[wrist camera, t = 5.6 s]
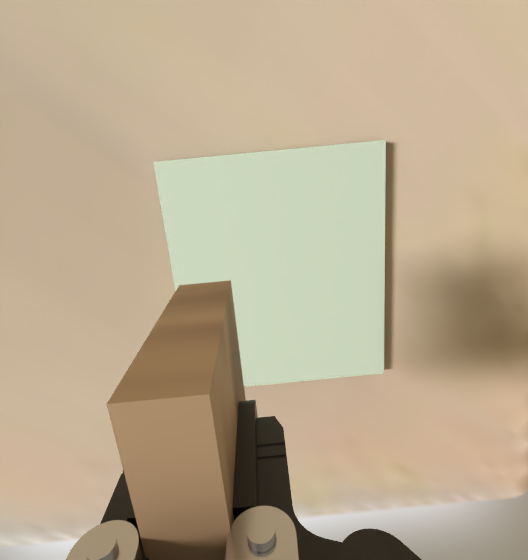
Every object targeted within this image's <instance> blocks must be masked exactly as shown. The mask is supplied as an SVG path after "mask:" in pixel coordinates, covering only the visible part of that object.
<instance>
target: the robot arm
mask: <svg viewBox="0 0 528 560" xmlns="http://www.w3.org/2000/svg"><path fill="white" fill-rule="evenodd" d="M232 509H233V516H234V522H233V523H232V525H231V527H230V529H229V532H228V537H227V546H226V558H225V560H421V559H420V558H419V557H418V556H417V555H415V554H414V553H413V552H412V551H411V550H410V549H409V548H408V547H407V546H405V545H404V544H403V543H402V542H401V541H400V540H398V539H397V538H396V537H394V536H392V535H391V534H389V533H386V532H384V531H381V530H377V529H362V530H358V531H355V532H353V533H352V534H350V535H349V536H348V537H347V538H346V539H345V540H344V541H343V543H342V542H338V541H333V540H329V539H325V538H322V537H319V536H316V535H314V534H312V533H311V532H309V531H308V530H306V529H305V528H304V527H303V526H302V525H301V524H300V523H299V521H298V519H297V518H296V516H295V514H294V511H293V506H292V499H291V490H290V482H289V473H288V465H287V457H286V448H285V440H284V431H283V427H282V426H281V424H280V423H279V422H278V420H277V419H276V418H275V416H271V417H261V418H258V417H257V408H256V401H255V400H249V401H239V403H238V420H237V437H236V454H235V471H234V488H233V505H232ZM66 560H150V559H149V558H146V557H145V553H144V549H143V545H142V541H141V537H140V533H139V529H138V526H137V522H136V518H135V514H134V510H133V506H132V502H131V498H130V494H129V490H128V486H127V482H126V478H125V474H124V470H123V474H121V476H120V479H119V481H118V483H117V486H116V488H115V490H114V493H113V495H112V498H111V500H110V502H109V505H108V507H107V509H106V512H105V514H104V516H103V519H102V521H101V524H100V525H98V526H96V527H94V528H93V529H91V530H90V531H88V532H87V533H86V534H84V535H83V536H82V537H81V538H80V539H79V540H78V541H77V543H76V544H75V545H74V546H73V548H72V549H71V551H70V553H69V555H68V557H67V559H66Z"/></svg>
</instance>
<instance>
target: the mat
mask: <svg viewBox="0 0 528 560" xmlns="http://www.w3.org/2000/svg"><path fill="white" fill-rule="evenodd" d="M153 163H154V169H155V175H156V181H157V187H158V193H159V198H160V204H161V210H162V216H163V222H164V227H165V233H166V239H167V245H168V251H169V257H170V262H171V268H172V274H173V280H174V286H175V292H176V290H177V288H178V287H179V285H187V284H198V283H208V282H219V281H229V280H231V286H232V294H233V302H234V310H235V319H236V327H237V335H238V343H239V351H240V359H241V368H242V376H243V384H244V387H247V386H257V385H267V384H278V383H288V382H298V381H309V380H319V379H329V378H340V377H350V376H360V375H371V374H381V373H384V303H385V175H386V140H380V141H370V142H359V143H348V144H338V145H327V146H317V147H306V148H296V149H285V150H275V151H264V152H253V153H243V154H232V155H222V156H211V157H201V158H190V159H179V160H169V161H158V162H153Z"/></svg>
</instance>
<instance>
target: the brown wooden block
mask: <svg viewBox="0 0 528 560" xmlns="http://www.w3.org/2000/svg"><path fill="white" fill-rule="evenodd" d="M239 401H246V400H245V392H244V384H243V376H242V368H241V359H240V351H239V343H238V335H237V327H236V319H235V310H234V302H233V294H232V286H231V280H229V281H219V282H208V283H198V284H187V285H179V287H178V288H177V290H176V292H175V293H174V295H173V297H172V298H171V300H170V301H169V303H168V305H167V306H166V308H165V310H164V311H163V313H162V315H161V316H160V318H159V319H158V321H157V323H156V324H155V326H154V328H153V329H152V331H151V333H150V334H149V336H148V337H147V339H146V341H145V342H144V344H143V346H142V347H141V349H140V351H139V352H138V354H137V355H136V357H135V359H134V360H133V362H132V364H131V365H130V367H129V369H128V370H127V372H126V373H125V375H124V377H123V378H122V380H121V382H120V383H119V385H118V387H117V388H116V390H115V391H114V393H113V395H112V396H111V398H110V400H109V401H108V403H107V407H108V411H109V415H110V419H111V423H112V427H113V431H114V435H115V439H116V442H117V446H118V450H119V454H120V458H121V462H122V466H123V470H124V474H125V478H126V482H127V486H128V490H129V494H130V498H131V502H132V506H133V510H134V514H135V518H136V522H137V526H138V529H139V533H140V537H141V541H142V545H143V549H144V553H145V557H146V558H149V559H150V560H225V558H226V546H227V537H228V532H229V529H230V527H231V525H232V523H233V522H234V516H233V509H232V505H233V488H234V471H235V454H236V437H237V420H238V403H239Z"/></svg>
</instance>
